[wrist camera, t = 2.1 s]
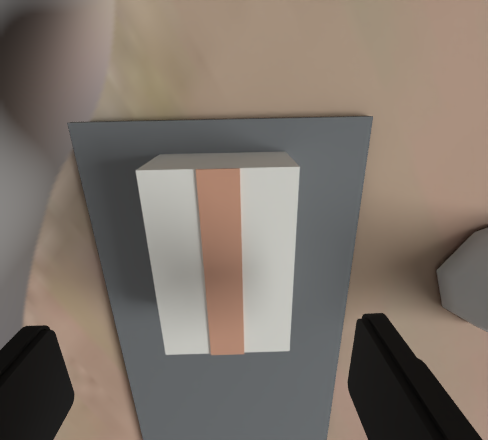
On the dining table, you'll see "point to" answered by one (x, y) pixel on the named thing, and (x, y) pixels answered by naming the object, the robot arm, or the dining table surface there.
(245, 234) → the card deck
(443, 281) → the flask
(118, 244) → the mat
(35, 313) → the dining table surface
